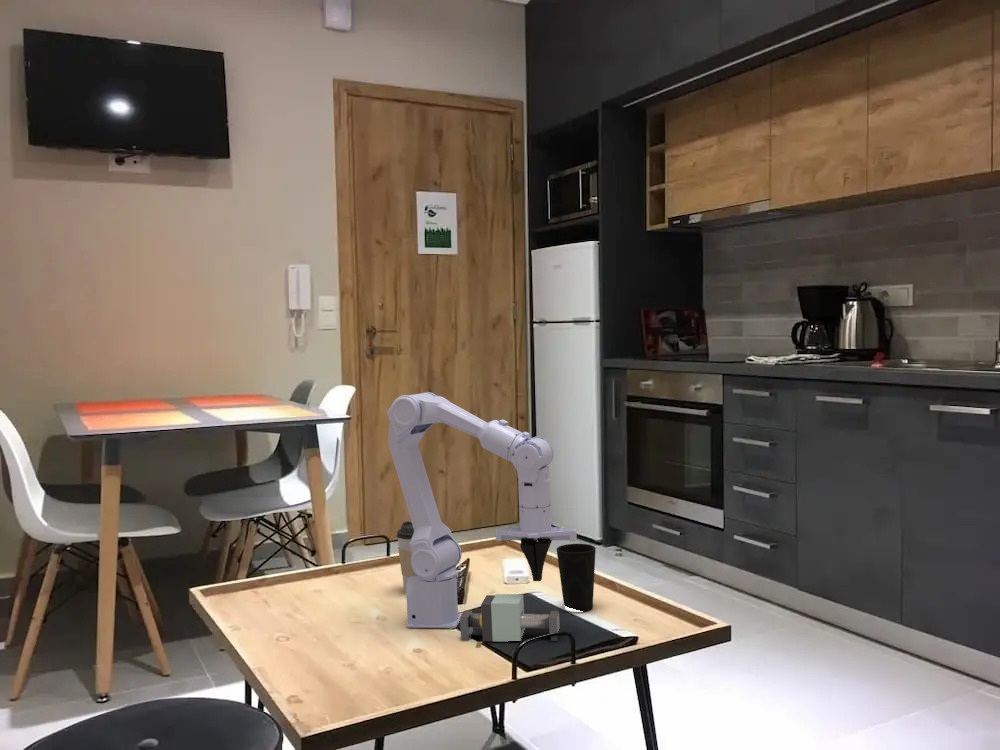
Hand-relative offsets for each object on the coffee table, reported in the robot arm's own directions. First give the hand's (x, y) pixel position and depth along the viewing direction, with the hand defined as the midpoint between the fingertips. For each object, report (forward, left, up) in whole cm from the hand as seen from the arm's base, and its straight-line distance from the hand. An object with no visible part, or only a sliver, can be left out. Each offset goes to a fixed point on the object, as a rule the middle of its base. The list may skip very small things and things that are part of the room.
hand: (537, 579), depth 157 cm
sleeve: (-5, -2, -10) cm, 11 cm away
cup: (+6, +15, -10) cm, 19 cm away
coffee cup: (-29, +26, -10) cm, 40 cm away
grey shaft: (-5, -4, -10) cm, 12 cm away
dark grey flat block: (-9, -2, -10) cm, 13 cm away
